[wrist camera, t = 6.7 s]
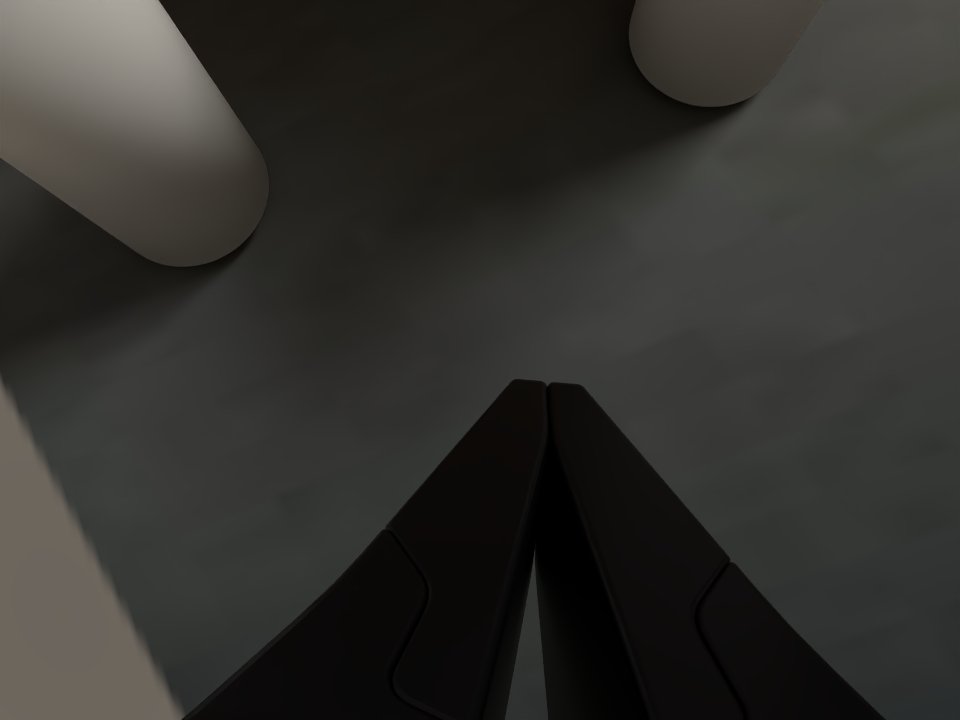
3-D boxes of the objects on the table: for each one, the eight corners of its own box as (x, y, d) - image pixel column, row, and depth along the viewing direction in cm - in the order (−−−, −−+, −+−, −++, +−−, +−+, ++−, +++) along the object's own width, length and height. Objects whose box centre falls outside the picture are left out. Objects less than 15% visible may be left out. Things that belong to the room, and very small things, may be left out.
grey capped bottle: (281, 277, 19) (-198, -223, 6) (88, 284, 19) (-813, -194, 6) (286, 99, 20) (-117, -668, 7) (102, 107, 20) (-642, -636, 7)
